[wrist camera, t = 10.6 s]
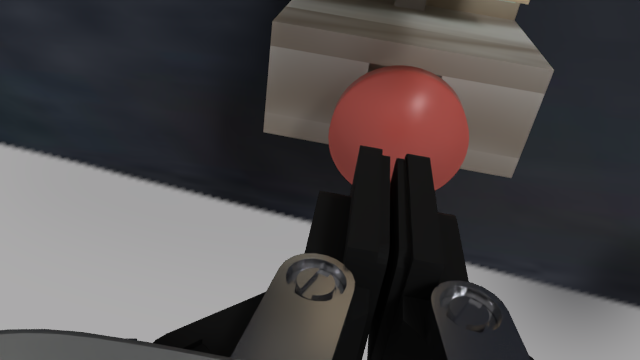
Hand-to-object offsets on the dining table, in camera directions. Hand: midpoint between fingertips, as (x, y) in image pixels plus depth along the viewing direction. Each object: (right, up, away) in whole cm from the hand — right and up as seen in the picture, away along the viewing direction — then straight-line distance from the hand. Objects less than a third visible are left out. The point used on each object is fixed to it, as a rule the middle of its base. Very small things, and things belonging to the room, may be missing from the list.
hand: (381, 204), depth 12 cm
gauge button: (+1, +3, +5) cm, 6 cm away
